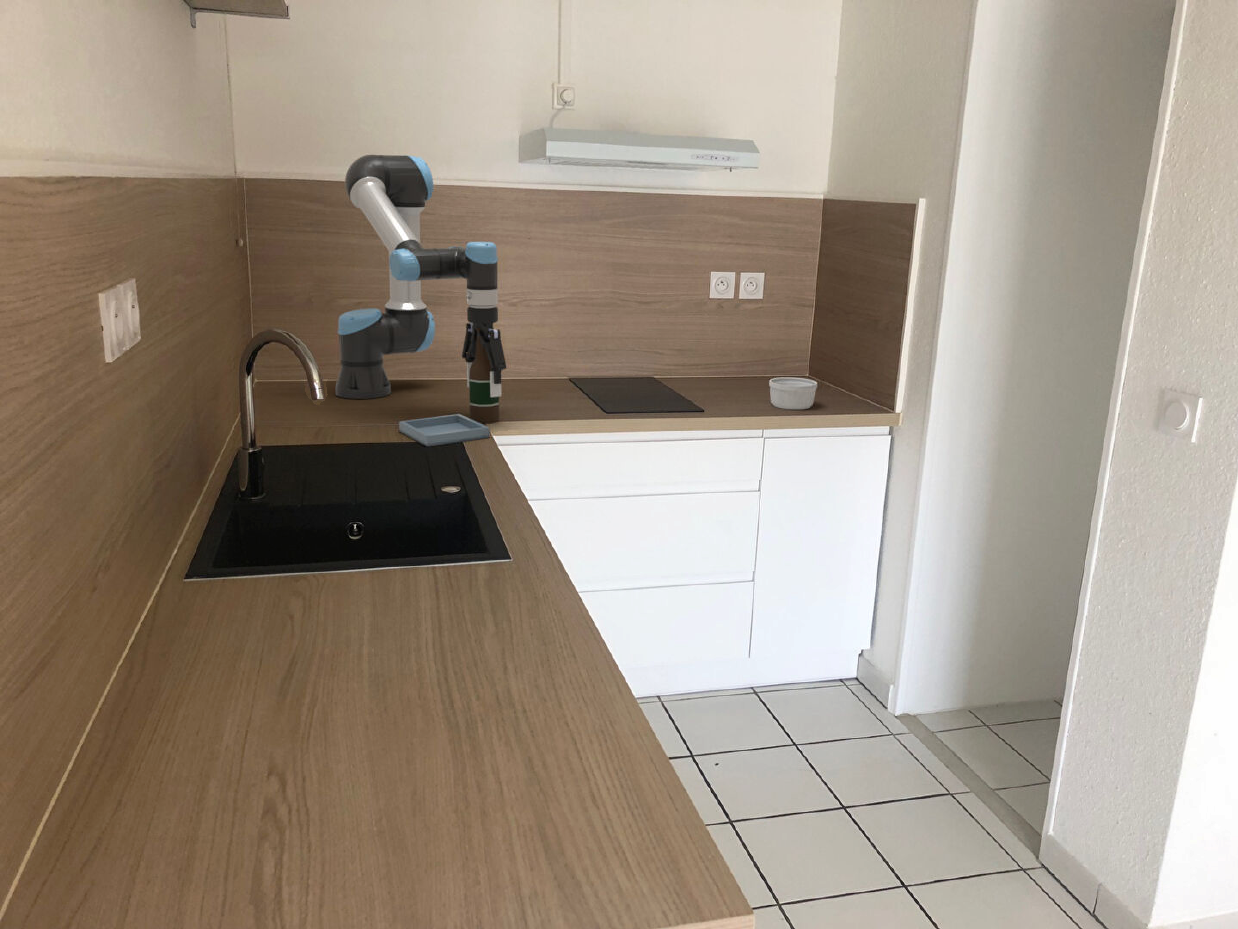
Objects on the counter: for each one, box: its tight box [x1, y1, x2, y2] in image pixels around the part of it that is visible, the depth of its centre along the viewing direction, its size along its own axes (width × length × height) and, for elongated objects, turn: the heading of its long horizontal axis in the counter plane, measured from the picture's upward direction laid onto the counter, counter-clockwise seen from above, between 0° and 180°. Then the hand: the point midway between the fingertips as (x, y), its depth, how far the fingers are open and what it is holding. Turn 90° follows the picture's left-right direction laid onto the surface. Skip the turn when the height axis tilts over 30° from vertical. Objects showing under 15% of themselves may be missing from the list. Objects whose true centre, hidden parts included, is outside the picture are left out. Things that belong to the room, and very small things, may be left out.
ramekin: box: [768, 376, 818, 411], centre depth 273 cm, size 13×13×7 cm
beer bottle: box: [468, 327, 500, 425], centre depth 246 cm, size 8×8×24 cm
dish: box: [398, 413, 490, 448], centre depth 235 cm, size 16×16×2 cm
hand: (484, 391), depth 247 cm, fingers open, 12 cm apart
